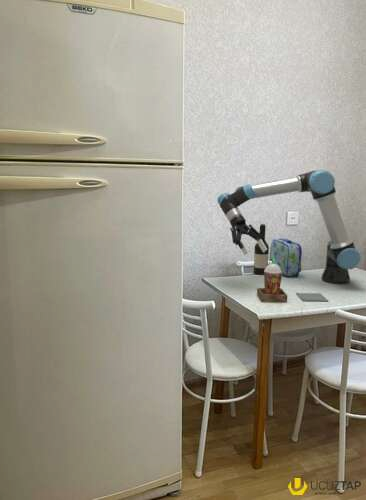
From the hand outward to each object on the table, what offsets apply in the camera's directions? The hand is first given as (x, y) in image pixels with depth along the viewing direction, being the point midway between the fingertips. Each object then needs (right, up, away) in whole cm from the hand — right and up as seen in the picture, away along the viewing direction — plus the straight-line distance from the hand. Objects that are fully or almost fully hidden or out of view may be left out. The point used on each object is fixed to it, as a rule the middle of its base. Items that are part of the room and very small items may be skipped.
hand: (256, 252), depth 200 cm
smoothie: (+6, -23, -5) cm, 24 cm away
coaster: (+26, -22, -4) cm, 35 cm away
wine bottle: (+11, -13, +45) cm, 48 cm away
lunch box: (+26, -13, +47) cm, 55 cm away
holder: (+6, -22, -6) cm, 24 cm away
